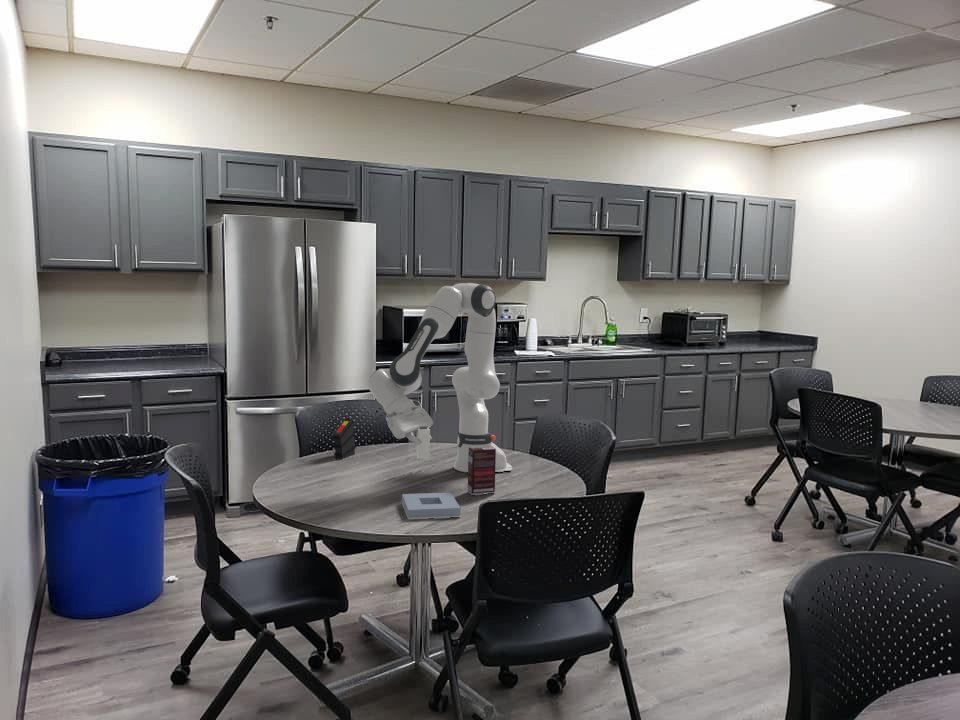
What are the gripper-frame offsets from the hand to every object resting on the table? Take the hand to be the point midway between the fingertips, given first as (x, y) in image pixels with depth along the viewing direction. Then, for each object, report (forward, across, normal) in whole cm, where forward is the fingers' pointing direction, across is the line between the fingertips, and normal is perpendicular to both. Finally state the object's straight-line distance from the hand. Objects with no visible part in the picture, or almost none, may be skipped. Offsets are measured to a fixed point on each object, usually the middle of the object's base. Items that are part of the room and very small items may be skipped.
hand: (424, 442), depth 243 cm
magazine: (-24, +22, +49) cm, 59 cm away
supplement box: (+24, +9, 0) cm, 26 cm away
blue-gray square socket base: (+21, -16, +4) cm, 26 cm away
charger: (+3, 0, +4) cm, 5 cm away
